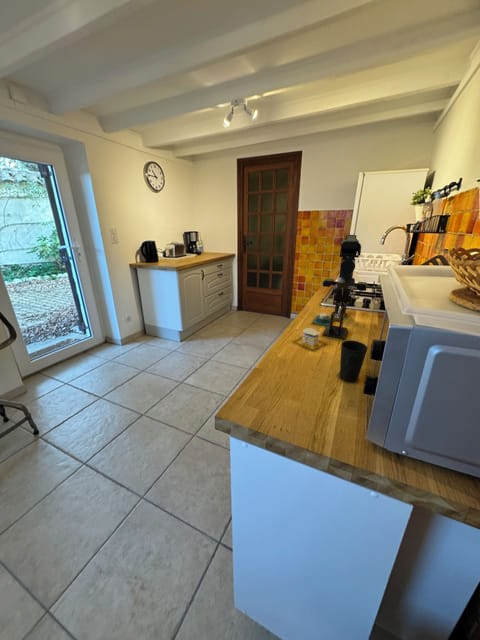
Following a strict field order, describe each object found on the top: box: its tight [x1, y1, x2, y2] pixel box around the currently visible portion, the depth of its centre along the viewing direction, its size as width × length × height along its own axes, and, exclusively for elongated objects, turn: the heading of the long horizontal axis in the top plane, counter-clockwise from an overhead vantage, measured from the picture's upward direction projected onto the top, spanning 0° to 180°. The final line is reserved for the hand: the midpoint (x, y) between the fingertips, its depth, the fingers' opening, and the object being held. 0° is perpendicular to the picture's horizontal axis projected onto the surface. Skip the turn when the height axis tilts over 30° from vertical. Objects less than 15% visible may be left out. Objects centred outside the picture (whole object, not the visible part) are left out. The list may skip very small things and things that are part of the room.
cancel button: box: [319, 313, 328, 319], centre depth 129 cm, size 4×4×2 cm
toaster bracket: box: [322, 311, 349, 341], centre depth 115 cm, size 12×9×10 cm
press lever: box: [334, 302, 345, 323], centre depth 118 cm, size 13×3×3 cm, turn 151°
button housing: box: [312, 314, 331, 327], centre depth 129 cm, size 10×8×3 cm
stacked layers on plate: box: [301, 327, 320, 347], centre depth 108 cm, size 10×9×6 cm
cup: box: [339, 340, 368, 383], centre depth 83 cm, size 8×8×12 cm
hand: (342, 302), depth 120 cm, fingers closed, pressing on press lever
